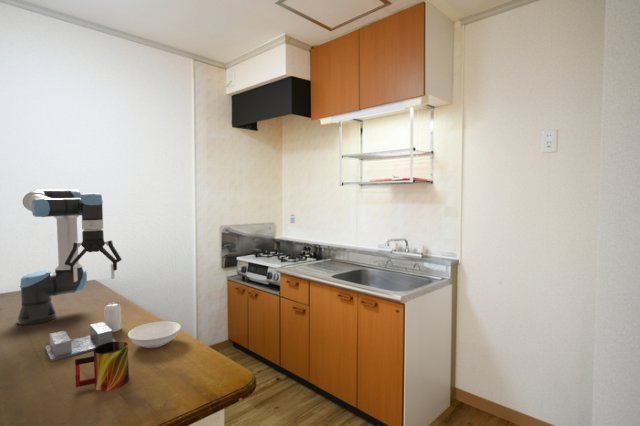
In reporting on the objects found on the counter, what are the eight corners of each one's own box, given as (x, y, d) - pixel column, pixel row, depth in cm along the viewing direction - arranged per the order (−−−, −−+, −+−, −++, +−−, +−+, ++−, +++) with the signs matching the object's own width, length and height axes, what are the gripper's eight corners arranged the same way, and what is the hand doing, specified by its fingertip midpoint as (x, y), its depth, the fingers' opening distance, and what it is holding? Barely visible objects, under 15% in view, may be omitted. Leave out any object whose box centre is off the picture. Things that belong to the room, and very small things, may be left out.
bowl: (191, 338, 151) (191, 324, 151) (156, 359, 133) (155, 342, 132) (154, 332, 158) (154, 318, 158) (116, 351, 139) (115, 335, 139)
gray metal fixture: (45, 348, 142) (44, 334, 142) (106, 333, 158) (106, 320, 157) (51, 361, 131) (50, 346, 131) (117, 343, 146) (116, 330, 146)
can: (113, 333, 157) (113, 306, 157) (101, 332, 159) (100, 306, 158) (124, 328, 164) (123, 302, 163) (112, 327, 165) (111, 301, 164)
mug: (74, 390, 112) (73, 353, 111) (120, 372, 123) (119, 338, 122) (87, 400, 106) (86, 361, 105) (134, 381, 117) (133, 345, 116)
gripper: (54, 232, 141) (56, 284, 142) (125, 229, 150) (126, 278, 151) (60, 230, 148) (62, 280, 149) (127, 228, 157) (128, 275, 158)
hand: (94, 279), depth 150 cm, fingers open, 13 cm apart
